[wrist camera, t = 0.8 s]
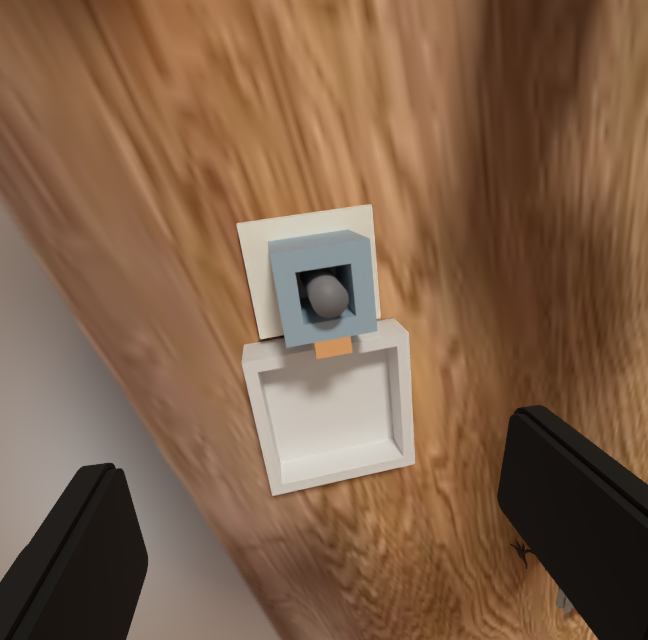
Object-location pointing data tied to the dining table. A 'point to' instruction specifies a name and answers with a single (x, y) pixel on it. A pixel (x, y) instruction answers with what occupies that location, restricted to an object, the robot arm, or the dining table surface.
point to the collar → (351, 272)
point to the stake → (314, 283)
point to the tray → (332, 408)
